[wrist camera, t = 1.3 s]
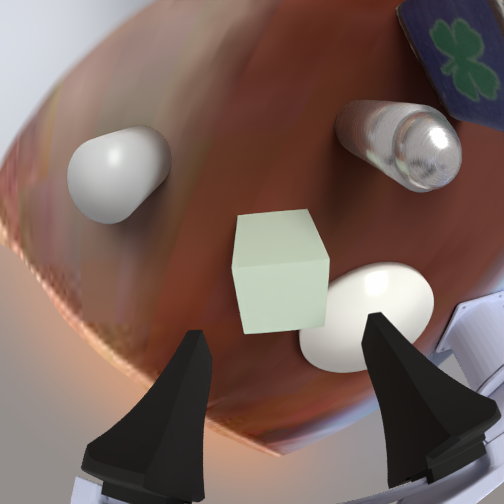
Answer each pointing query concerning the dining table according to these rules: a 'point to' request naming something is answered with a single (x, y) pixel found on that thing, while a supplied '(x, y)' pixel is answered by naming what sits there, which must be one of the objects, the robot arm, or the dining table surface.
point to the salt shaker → (402, 141)
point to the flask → (460, 54)
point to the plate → (366, 313)
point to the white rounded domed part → (117, 172)
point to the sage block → (280, 272)
